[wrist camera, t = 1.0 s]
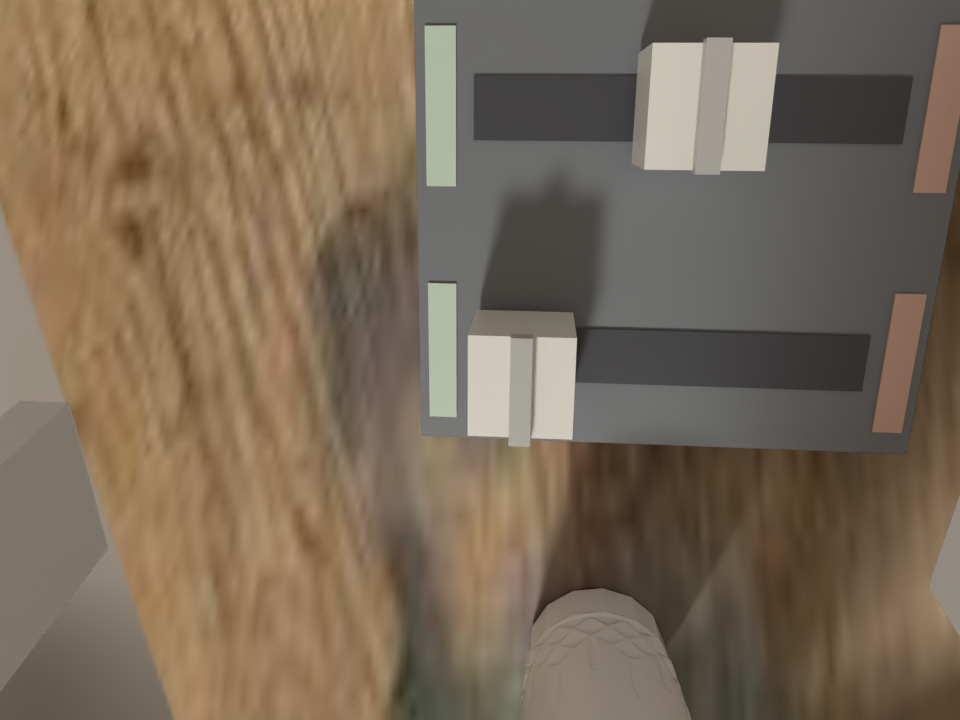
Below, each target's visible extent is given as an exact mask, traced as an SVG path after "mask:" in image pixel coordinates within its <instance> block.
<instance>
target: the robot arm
mask: <svg viewBox="0 0 960 720" xmlns="http://www.w3.org/2000/svg"><path fill="white" fill-rule="evenodd" d="M107 549H108V546H107V542H106V538H105V534H104V530H103V527H102V523H101V519H100V516H99V512H98V508H97V504H96V501H95V497H94V493H93V489H92V486H91V482H90V478H89V475H88V471H87V467H86V463H85V460H84V456H83V452H82V449H81V445H80V441H79V437H78V434H77V430H76V426H75V422H74V419H73V415H72V411H71V408H70V404H69V403H63V402H35V401H19V402H18V403H17V404H16V405H14V406H13V407H12V408H11V409H9V410H8V411H7V412H6V413H5V414H3V415H2V416H1V417H0V691H1V690H2V689H3V687H4V686H5V685H6V683H7V682H8V681H9V679H10V678H11V677H12V675H13V674H14V673H15V671H16V670H17V669H18V667H19V666H20V665H21V663H22V662H23V661H24V659H25V658H26V657H27V655H28V654H29V653H30V651H31V650H32V649H33V647H34V646H35V645H36V643H37V642H38V641H39V640H40V638H41V637H42V635H43V634H44V633H45V632H46V630H47V629H48V628H49V626H50V625H51V624H52V622H53V621H54V620H55V618H56V617H57V616H58V614H59V613H60V611H61V610H62V609H63V608H64V606H65V605H66V604H67V602H68V601H69V600H70V598H71V597H72V596H73V594H74V593H75V592H76V590H77V589H78V588H79V586H80V585H81V584H82V582H83V581H84V580H85V578H86V577H87V576H88V574H89V573H90V572H91V570H92V569H93V568H94V566H95V565H96V564H97V562H98V561H99V560H100V559H101V557H102V556H103V555H104V553H105V552H106V551H107ZM929 589H930V590H931V592H932V594H933V595H934V597H935V598H936V600H937V601H938V603H939V604H940V606H941V608H942V609H943V611H944V612H945V614H946V615H947V617H948V619H949V620H950V622H951V623H952V625H953V626H954V628H955V629H956V631H957V633H958V634H959V636H960V496H959V499H958V502H957V505H956V508H955V511H954V514H953V517H952V520H951V523H950V525H949V528H948V531H947V534H946V537H945V540H944V543H943V546H942V549H941V552H940V555H939V558H938V561H937V564H936V567H935V570H934V573H933V575H932V578H931V581H930V584H929Z"/></svg>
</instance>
